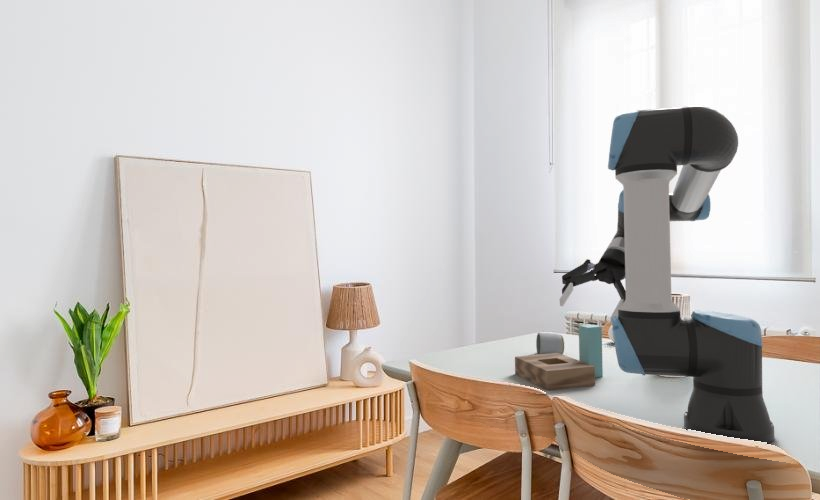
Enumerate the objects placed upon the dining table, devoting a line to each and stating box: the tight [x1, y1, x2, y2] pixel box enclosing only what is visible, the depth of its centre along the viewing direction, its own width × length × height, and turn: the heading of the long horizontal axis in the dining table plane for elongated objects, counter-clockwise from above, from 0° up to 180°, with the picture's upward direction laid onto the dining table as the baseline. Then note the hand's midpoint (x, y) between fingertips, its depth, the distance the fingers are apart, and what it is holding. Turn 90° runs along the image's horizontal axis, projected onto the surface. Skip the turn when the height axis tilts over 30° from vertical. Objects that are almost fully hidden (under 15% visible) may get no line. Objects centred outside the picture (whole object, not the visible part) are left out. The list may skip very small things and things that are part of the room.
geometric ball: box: [607, 324, 614, 343], centre depth 191 cm, size 8×8×8 cm
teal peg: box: [578, 324, 604, 378], centre depth 147 cm, size 4×4×14 cm
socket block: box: [514, 353, 596, 391], centre depth 144 cm, size 18×14×5 cm
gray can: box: [535, 332, 565, 355], centre depth 175 cm, size 11×8×8 cm
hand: (585, 311), depth 134 cm, fingers open, 13 cm apart
